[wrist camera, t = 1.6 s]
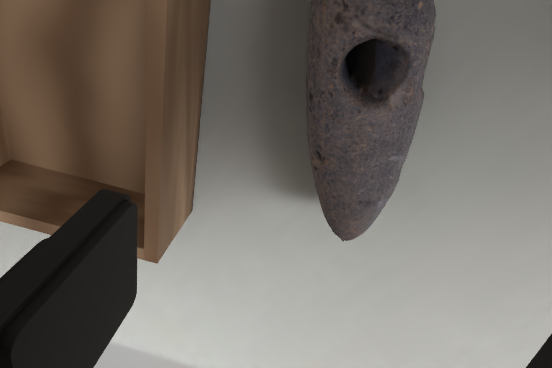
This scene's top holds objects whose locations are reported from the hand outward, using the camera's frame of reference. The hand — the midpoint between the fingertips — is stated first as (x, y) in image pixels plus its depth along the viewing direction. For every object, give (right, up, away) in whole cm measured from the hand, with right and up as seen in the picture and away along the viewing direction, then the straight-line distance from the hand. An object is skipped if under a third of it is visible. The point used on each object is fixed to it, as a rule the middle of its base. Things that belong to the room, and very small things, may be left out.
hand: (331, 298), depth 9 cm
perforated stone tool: (+3, +8, +14) cm, 16 cm away
